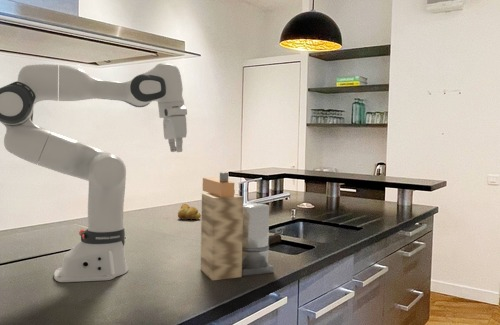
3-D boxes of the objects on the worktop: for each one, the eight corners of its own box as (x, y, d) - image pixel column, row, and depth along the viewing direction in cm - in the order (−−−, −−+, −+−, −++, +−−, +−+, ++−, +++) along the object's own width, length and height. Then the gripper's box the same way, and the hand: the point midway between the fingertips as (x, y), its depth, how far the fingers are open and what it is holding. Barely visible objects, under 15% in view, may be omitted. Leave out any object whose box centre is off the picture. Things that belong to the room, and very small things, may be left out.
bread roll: (203, 219, 243) (203, 204, 242) (194, 221, 234) (195, 207, 233) (183, 217, 248) (183, 203, 247) (174, 219, 239) (174, 205, 238)
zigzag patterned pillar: (212, 280, 137) (213, 198, 136) (200, 269, 148) (201, 193, 146) (241, 277, 141) (243, 197, 140) (228, 266, 152) (229, 192, 151)
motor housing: (242, 275, 142) (244, 208, 141) (230, 266, 152) (231, 203, 151) (274, 272, 147) (275, 207, 145) (259, 263, 157) (261, 202, 156)
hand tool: (274, 241, 192) (274, 231, 192) (281, 243, 190) (281, 232, 190) (246, 249, 178) (246, 238, 178) (254, 251, 175) (254, 239, 175)
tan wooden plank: (220, 197, 138) (221, 173, 137) (202, 190, 155) (202, 169, 155) (234, 196, 139) (234, 173, 139) (214, 190, 157) (214, 169, 156)
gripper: (157, 114, 158) (161, 152, 159) (168, 110, 139) (173, 153, 140) (174, 113, 160) (178, 150, 161) (188, 108, 141) (192, 151, 142)
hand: (176, 151), depth 150 cm, fingers open, 8 cm apart
